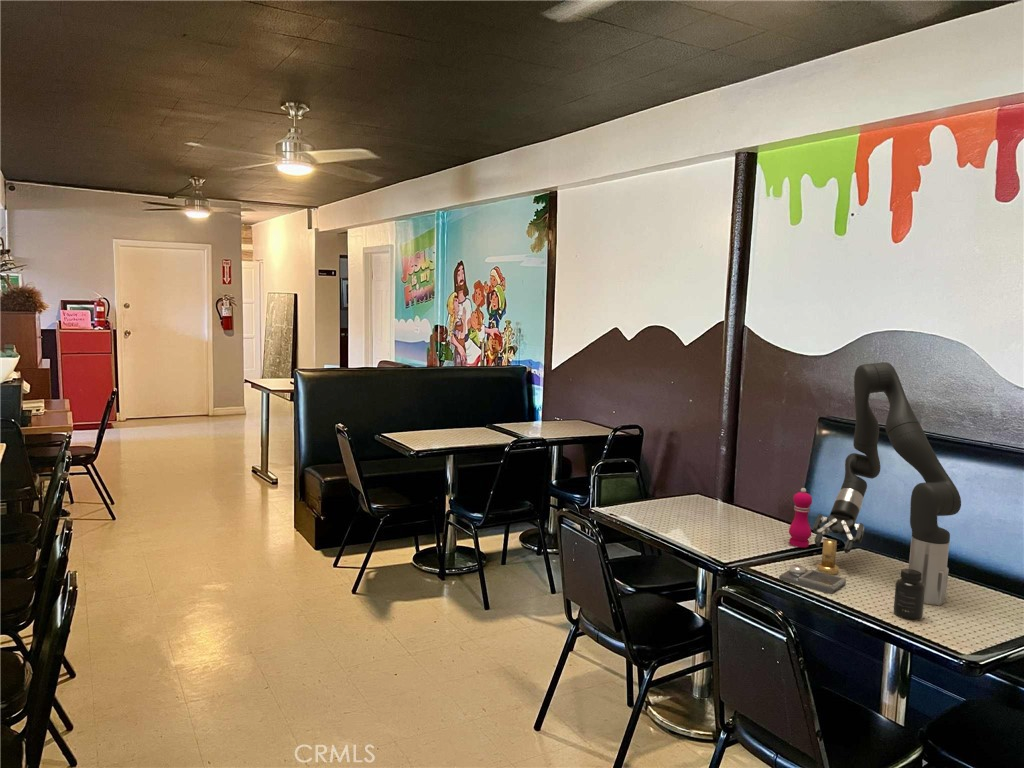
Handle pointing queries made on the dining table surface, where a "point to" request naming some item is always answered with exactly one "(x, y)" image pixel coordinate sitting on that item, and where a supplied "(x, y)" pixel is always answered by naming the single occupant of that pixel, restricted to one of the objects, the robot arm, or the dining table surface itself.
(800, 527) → the pepper mill
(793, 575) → the carrier
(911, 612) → the supplement bottle
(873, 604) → the dining table surface
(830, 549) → the brass knob
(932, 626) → the dining table surface
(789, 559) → the dining table surface
